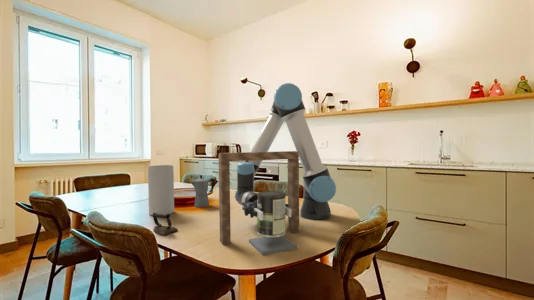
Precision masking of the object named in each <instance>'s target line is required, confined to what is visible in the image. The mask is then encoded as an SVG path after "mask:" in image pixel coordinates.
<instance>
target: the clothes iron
mask: <svg viewBox="0 0 534 300" xmlns="http://www.w3.org/2000/svg"><path fill="white" fill-rule="evenodd" d="M151 216H152V218H153V222H154V225H155V226H154V227H153V232H154V233H155V234H157V235H159V236H162V237H166V236H168V235H171V234H174V233H176V232H178V231H179V230H178V228H177V227H176V226H172V221H171V214H158V213H153V214H152V215H151ZM158 219H165V220H166V222H167V225H162V224H161V223H159V220H158Z"/></svg>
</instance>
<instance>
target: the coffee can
mask: <svg viewBox="0 0 534 300" xmlns="http://www.w3.org/2000/svg"><path fill="white" fill-rule="evenodd" d="M286 197H287V194H286V192H283V191H278V190H265V191H259V192H258V193H257V209H258V210H260V211H262V212H263V220H262V221H261V220H259V219H258V218H257V217H256V220H257V223H256V225H257V226H256V228H257V229H256V233H257V235H258V236H260V237H269V238H274V237H280V236H285V234H286V215H285V204H286Z"/></svg>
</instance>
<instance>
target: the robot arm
mask: <svg viewBox="0 0 534 300" xmlns="http://www.w3.org/2000/svg"><path fill="white" fill-rule="evenodd" d="M274 91H275V92H274V94H273V103H272V105H271V108H270V110H269V116H268V118H267V120H266V122H265V124H264V125H263V127H262V129H261V131H260V133H259V135H258V136H257V138H256V141H255V142H254V144H253V147H252V148H251V150H250V152H269V150H270V148H271V146H272V145H273V142H274V140H275V139H276V137H277V135H278V133H279V131H280V130H281V128H282V126H283V124H284V123H286V126H287V128H288V132H289V134H290V137H291V139H292V142H293V145H294V147H295V151H299V162H300V164H301V166H302V169H303V174H302V178H303V201H302V205H301V208H300V209H299V216H301V217H302V218H304V219H309V220H325V219H330V218H331V217H332V210H331V208H330V205H329V201H331V200H332V199H333V198H334V197H335V194H336V192H337V185H336V182H335V180H334V179H333V178H332V177H331V174H330V172H329V169H328V167H327V166H326V165H324V164H323V163H322V160H321V158H320V155H319V152H318V149H317V146H316V144H315V141H314V139H313V136H312V133H311V130H310V127H309V125H308V122H307V119H306V118H305V112H306V107H305V104H304V102H303V101H304V100H303V95H302V92H301V89H300V88H299V86H297V85H295V84H294V83H291V82H290V83H289V82H286V83H282V84H281V85H279V86H278V87H277V88H276V90H274ZM263 161H264V160H255V161H243V162H238V163H237V168H236V174H237V176H236V181H237V185H236V186H237V187H236V189H237V190H236V191H235V193H234V198H235V201H236V202H237V203H238V204H239V205H240V206H241V207H242V211H243V212H244V216H249V215H250V217H249V218H252V219H253V218H256V219H257V218H258V219H259V220H261V221H262V220H263V212H262V211H260V210H258V209H257V193H256V192H255V182H254V181H255V176H256V174H257V172H258V170H259V168H260V167H261V165H262V163H263ZM285 217H287V218H288V217H291V209H290V208H288V203H285Z"/></svg>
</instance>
